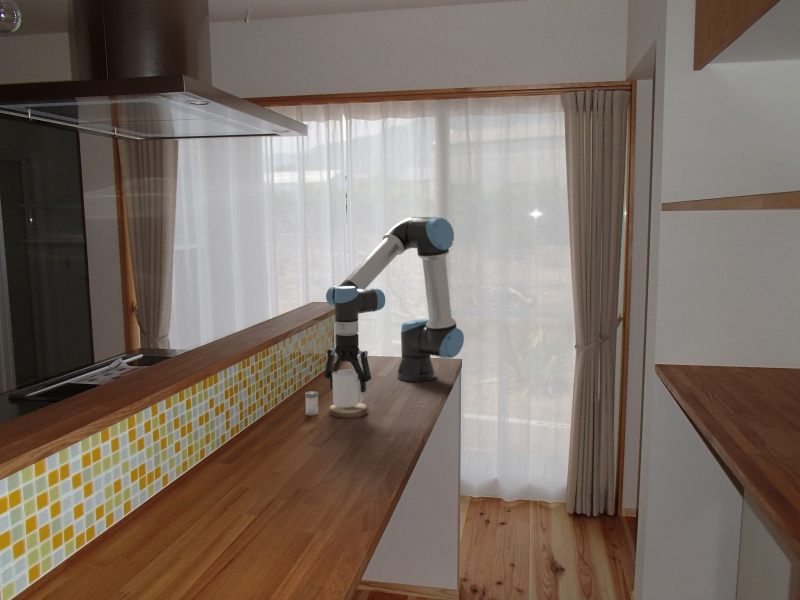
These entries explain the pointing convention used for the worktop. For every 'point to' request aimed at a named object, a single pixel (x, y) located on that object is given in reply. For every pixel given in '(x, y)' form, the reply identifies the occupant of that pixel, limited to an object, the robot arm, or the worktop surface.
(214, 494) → the worktop surface
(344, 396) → the mug
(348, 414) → the beige flat disc
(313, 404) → the spice jar
